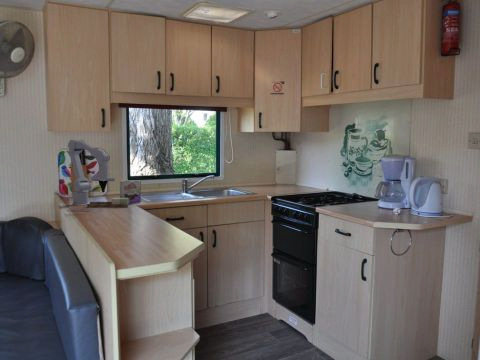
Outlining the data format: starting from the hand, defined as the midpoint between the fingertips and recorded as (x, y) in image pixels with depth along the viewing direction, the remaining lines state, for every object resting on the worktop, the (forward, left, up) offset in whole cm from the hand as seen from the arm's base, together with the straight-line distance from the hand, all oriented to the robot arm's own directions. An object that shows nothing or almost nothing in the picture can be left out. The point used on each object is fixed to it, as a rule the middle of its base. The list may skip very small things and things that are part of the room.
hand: (103, 192), depth 280 cm
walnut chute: (+4, 0, -10) cm, 11 cm away
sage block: (+13, 0, -9) cm, 16 cm away
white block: (+8, 0, -9) cm, 12 cm away
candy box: (+16, +18, -11) cm, 26 cm away
